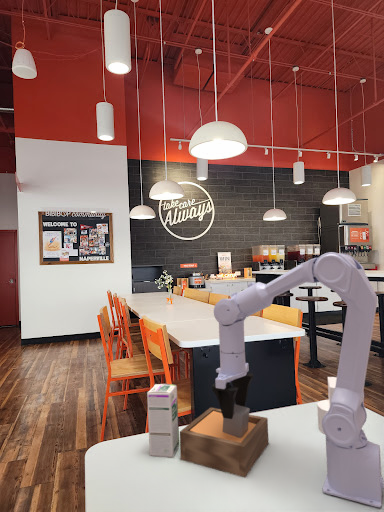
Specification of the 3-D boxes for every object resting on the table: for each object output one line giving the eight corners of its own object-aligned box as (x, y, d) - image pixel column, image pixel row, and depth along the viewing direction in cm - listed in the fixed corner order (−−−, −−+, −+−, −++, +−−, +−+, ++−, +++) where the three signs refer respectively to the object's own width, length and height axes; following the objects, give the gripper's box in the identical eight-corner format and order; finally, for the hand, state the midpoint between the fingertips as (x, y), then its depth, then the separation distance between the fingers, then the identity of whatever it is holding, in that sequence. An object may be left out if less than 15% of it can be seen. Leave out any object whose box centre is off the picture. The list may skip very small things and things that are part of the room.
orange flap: (258, 429, 82) (258, 425, 82) (239, 453, 72) (239, 448, 72) (213, 414, 88) (213, 410, 88) (189, 434, 78) (189, 430, 78)
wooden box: (268, 443, 83) (267, 417, 83) (245, 477, 70) (244, 446, 70) (211, 430, 90) (210, 407, 91) (180, 459, 77) (179, 431, 77)
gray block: (247, 430, 80) (249, 408, 80) (240, 438, 76) (242, 415, 76) (230, 424, 82) (231, 403, 82) (222, 431, 78) (223, 409, 78)
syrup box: (173, 458, 78) (171, 392, 78) (148, 456, 79) (146, 391, 80) (179, 445, 83) (177, 383, 84) (156, 443, 85) (154, 383, 85)
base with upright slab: (359, 440, 83) (356, 389, 84) (319, 436, 86) (316, 386, 86) (354, 424, 92) (351, 378, 92) (317, 420, 94) (315, 375, 95)
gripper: (229, 343, 88) (231, 398, 87) (201, 356, 75) (204, 420, 75) (255, 345, 85) (258, 402, 84) (232, 359, 72) (234, 426, 71)
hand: (234, 411), depth 79 cm, fingers open, 7 cm apart
